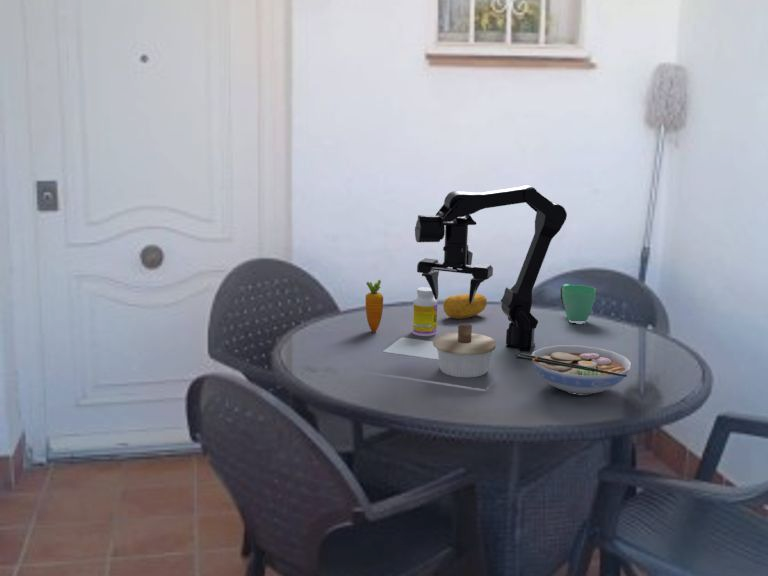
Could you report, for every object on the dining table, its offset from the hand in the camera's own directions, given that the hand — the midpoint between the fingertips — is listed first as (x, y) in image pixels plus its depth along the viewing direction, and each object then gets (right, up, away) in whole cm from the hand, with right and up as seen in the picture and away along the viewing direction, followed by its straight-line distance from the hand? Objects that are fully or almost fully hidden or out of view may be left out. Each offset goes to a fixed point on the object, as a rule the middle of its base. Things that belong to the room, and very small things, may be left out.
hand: (453, 301), depth 239 cm
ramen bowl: (+27, -20, -25) cm, 42 cm away
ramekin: (+1, -17, -14) cm, 22 cm away
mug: (+38, -6, +34) cm, 51 cm away
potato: (+6, -5, +34) cm, 35 cm away
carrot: (-21, -9, +16) cm, 28 cm away
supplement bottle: (-7, -10, +16) cm, 20 cm away
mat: (-7, -13, +2) cm, 15 cm away
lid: (+1, -10, -16) cm, 19 cm away
